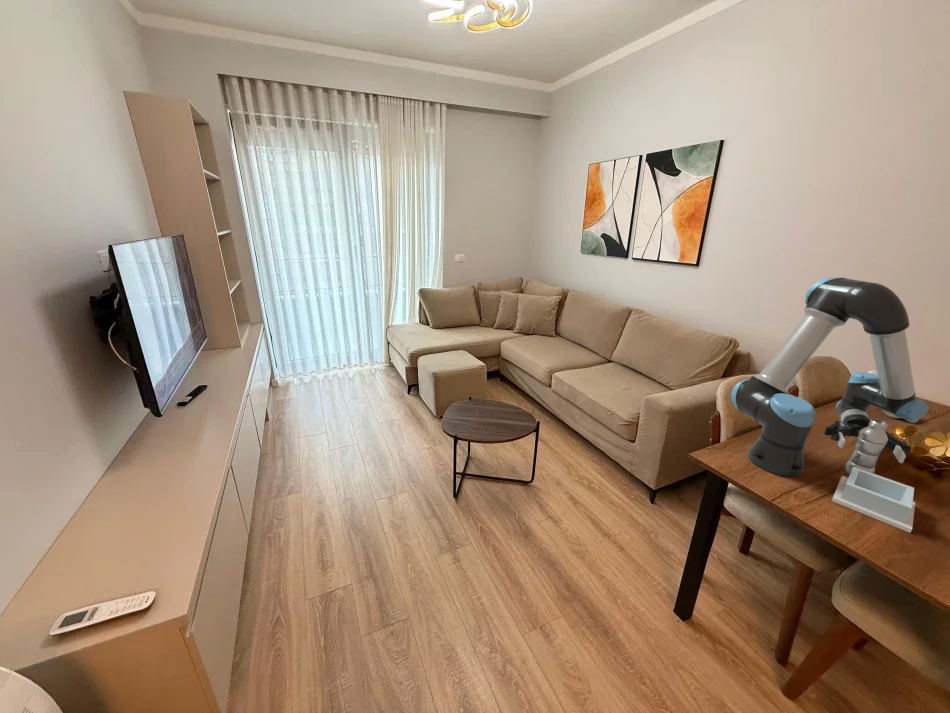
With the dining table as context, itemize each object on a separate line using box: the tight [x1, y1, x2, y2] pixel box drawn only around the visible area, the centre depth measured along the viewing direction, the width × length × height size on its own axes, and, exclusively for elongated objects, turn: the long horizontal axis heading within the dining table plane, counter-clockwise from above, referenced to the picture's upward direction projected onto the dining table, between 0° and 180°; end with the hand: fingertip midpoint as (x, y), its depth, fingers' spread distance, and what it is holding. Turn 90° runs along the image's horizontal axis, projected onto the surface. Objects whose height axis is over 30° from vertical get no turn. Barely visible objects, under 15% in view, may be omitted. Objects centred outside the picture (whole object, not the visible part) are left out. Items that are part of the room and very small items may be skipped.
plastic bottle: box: [845, 418, 889, 475], centre depth 121 cm, size 6×7×20 cm
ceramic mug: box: [882, 410, 920, 424], centre depth 162 cm, size 11×8×8 cm
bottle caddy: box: [831, 467, 916, 533], centre depth 112 cm, size 16×16×6 cm
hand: (871, 451), depth 119 cm, fingers open, 13 cm apart
